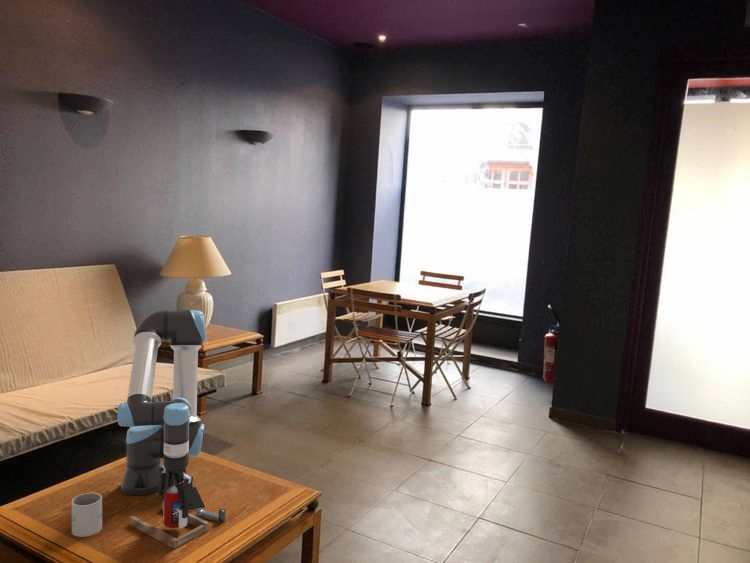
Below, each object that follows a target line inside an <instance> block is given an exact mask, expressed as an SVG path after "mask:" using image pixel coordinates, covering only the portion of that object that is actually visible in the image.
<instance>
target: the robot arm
mask: <svg viewBox="0 0 750 563" xmlns="http://www.w3.org/2000/svg"><path fill="white" fill-rule="evenodd" d="M206 331H207V330H206V323H205V316H204V312H202V311H201V310H198V309H197V310H195V309H159V310H155V311H154V312H151V313H150V314H147V316H146V317H144V318H143V319H142V321H141V322H140V323H139V324H138V325H137V327H136V329H135V331H134V334H133V339H132V342H133V345H134V354H133V360H132V365H131V366H132V367H131V371H130V378H129V384H128V390H127V391H128V392H127V397H126V401H125V402H121V403H119V405H118V407H117V423H118V425H119V426H120V427H129V429H127V432H126V439H125V443H126V446H125V447H126V457H125V458H126V462H125V463H126V466H125V471H124V473H123V476H122V480H121V482H120V483H121V484H120V490H121V492H123V493H124V494H127V495H131V496H145V495H150V494H155V493H157V495H158V497H161V500H162V502H163V509H164V493H165V492H166V490H167V488H168V487H170V486H172V485H175V487H176V488H177V491H178V496H179V501H180V506H181V508H179V527H178V529H180V530H181V529H182V528H185V527H186V526H188V522H187V517H188V513H189V512H188V508H190V507H192V506H193V505H194V504H193V487H194V486H193V481H194V476H193V475H188V473H187V467H188V466H189V458H193V457H195V458H196V457H198V456H199V455H200V454H201V449H202V444H203V437H204V430H205V424H204V423H201V421H202V420H201V418H200V416H198V415H197V407H198V406H197V405H198V372H199V370H198V369H199V367H198V365H199V362H198V361H199V351H200V349H201V348H202V347H203V342H206V341H207V333H206ZM162 342H169V347H170V348H171V349H172V350H173V370H172V371H173V373H172V374H173V378H172V400H171V401H167V400H166V401H152V400H153V392H154V391H153V390H154V384H155V383H154V382H155V375H156V374H155V373H156V367H157V358H158V350H159V347H160V346H162ZM162 459H163V460H162ZM161 460H162V461H161ZM161 462H163V464H161ZM162 511H163V513H162V514H163V516H162V517H163V521H164V510H162Z"/></svg>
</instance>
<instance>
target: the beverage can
mask: <svg viewBox="0 0 750 563" xmlns="http://www.w3.org/2000/svg"><path fill="white" fill-rule="evenodd" d="M179 508H181V506H180V501H179V496H178V491H177V488H176V487H175V484H174V485H172V486H170V487H168V488H167V490H166V492H165V493H164V520H163V524H164V526H165V527H166V528H170V529H177V528H178V529H179Z"/></svg>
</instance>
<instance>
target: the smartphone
mask: <svg viewBox="0 0 750 563" xmlns="http://www.w3.org/2000/svg"><path fill="white" fill-rule="evenodd" d="M193 504H194V505H193V506H192V507H190V508H188V513H191V512H196V510H197V509H198V508H203V509H205V510H206V509H207V506H206V504H205V501H204V500H203V498H202V494H201V493H200V491H199V488H198V487H197V486H193Z"/></svg>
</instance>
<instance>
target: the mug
mask: <svg viewBox="0 0 750 563" xmlns="http://www.w3.org/2000/svg"><path fill="white" fill-rule="evenodd" d="M102 529H103V495H102V494H101V493H98V492H86V493H85V492H84V493H82V494H79V495H76V496H75V497H73V498H72V500H71V534H72V535H73V536H74V537H81V538H83V537H89V536H90V537H91V536H93V535H96V534H97V533H99V532H100V531H101V530H102Z"/></svg>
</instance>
